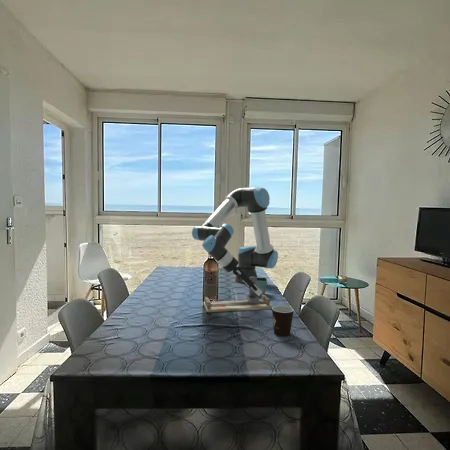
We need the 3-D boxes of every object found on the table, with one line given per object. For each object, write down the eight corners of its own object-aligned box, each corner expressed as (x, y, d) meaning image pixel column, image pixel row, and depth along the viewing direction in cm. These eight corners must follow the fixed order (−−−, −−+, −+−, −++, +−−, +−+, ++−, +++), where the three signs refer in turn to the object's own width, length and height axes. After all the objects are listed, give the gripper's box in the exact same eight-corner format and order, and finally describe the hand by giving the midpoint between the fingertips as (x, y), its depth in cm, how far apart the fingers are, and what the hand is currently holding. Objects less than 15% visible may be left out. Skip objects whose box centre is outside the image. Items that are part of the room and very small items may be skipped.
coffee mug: (293, 338, 125) (293, 313, 124) (270, 336, 127) (271, 311, 126) (292, 327, 136) (293, 304, 135) (272, 325, 138) (272, 302, 137)
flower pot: (266, 292, 189) (266, 277, 188) (266, 297, 180) (267, 281, 179) (251, 291, 189) (251, 276, 189) (251, 296, 181) (251, 280, 180)
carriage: (246, 298, 167) (246, 275, 166) (254, 298, 168) (254, 275, 167) (250, 302, 160) (250, 279, 159) (258, 302, 161) (259, 278, 160)
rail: (203, 304, 165) (203, 296, 164) (263, 301, 172) (263, 293, 171) (207, 312, 153) (207, 303, 153) (271, 308, 160) (271, 300, 160)
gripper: (217, 262, 171) (244, 289, 176) (228, 272, 147) (258, 303, 151) (227, 252, 172) (253, 279, 176) (239, 260, 148) (269, 291, 152)
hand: (256, 290), depth 164 cm, fingers open, 13 cm apart
